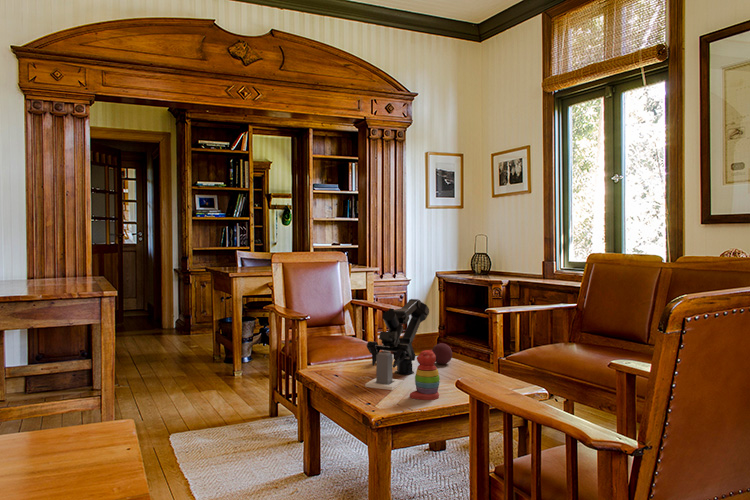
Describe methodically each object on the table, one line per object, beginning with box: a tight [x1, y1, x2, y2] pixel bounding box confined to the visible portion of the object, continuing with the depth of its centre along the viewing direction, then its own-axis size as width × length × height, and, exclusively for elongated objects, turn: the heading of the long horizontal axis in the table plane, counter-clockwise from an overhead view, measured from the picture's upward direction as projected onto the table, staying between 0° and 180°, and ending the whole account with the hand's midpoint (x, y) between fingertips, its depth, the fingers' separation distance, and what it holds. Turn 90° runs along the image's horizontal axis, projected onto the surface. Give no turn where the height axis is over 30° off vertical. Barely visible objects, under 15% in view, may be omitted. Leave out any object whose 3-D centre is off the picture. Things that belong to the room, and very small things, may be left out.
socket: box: [364, 377, 404, 391], centre depth 226 cm, size 12×12×1 cm
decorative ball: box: [431, 342, 453, 365], centre depth 263 cm, size 10×10×10 cm
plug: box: [375, 350, 393, 385], centre depth 226 cm, size 5×5×13 cm
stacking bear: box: [409, 349, 441, 401], centre depth 209 cm, size 11×10×18 cm
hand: (383, 366), depth 224 cm, fingers open, 9 cm apart
